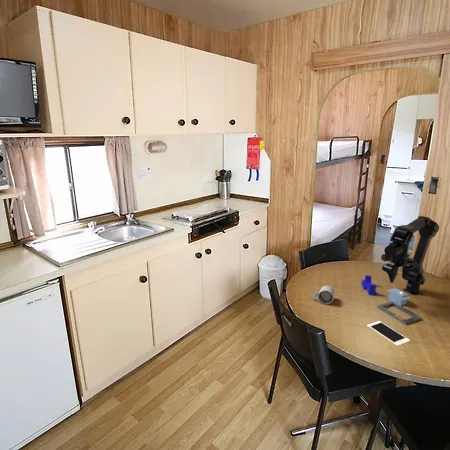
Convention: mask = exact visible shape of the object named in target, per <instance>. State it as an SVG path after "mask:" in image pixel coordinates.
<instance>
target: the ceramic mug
mask: <svg viewBox="0 0 450 450" xmlns="http://www.w3.org/2000/svg"><path fill="white" fill-rule="evenodd" d="M312 298H313V300H315V301H317V300H318V301H319V302H320V303H321V304H324V305H329V304H331V303H332V302H333V301H334V298H335V289H334V288H333V287H332V286H330V285H323V286H322V287H321V288H320V290H319V292H316V293H314V294H312Z"/></svg>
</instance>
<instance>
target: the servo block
mask: <svg viewBox="0 0 450 450" xmlns="http://www.w3.org/2000/svg"><path fill="white" fill-rule="evenodd" d="M387 293H389V294H388V295H389V297H388V300H390V302H391V301H393V302H395V303H396V304H398V305H400V306H404V305H406V304H407V302H408V300H410V299H411V297H410V296H409V293H405V292H404V291H402V290H400V289H398V288H391V289H388V290H387Z"/></svg>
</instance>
